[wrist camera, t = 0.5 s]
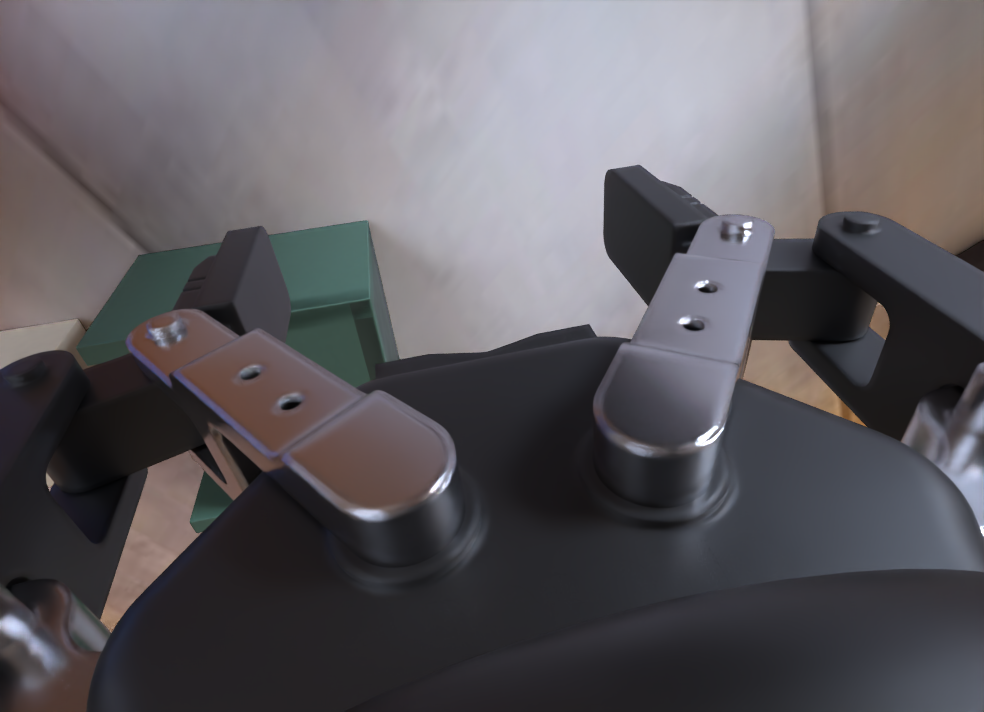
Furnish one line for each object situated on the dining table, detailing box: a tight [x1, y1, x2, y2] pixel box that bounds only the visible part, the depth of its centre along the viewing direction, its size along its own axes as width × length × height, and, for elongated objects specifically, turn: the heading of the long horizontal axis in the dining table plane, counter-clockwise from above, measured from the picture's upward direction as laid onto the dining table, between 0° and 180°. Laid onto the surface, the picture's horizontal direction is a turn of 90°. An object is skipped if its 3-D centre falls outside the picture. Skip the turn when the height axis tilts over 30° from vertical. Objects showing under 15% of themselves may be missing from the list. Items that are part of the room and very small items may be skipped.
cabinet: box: [76, 220, 399, 533], centre depth 34 cm, size 24×12×8 cm, turn 5°
